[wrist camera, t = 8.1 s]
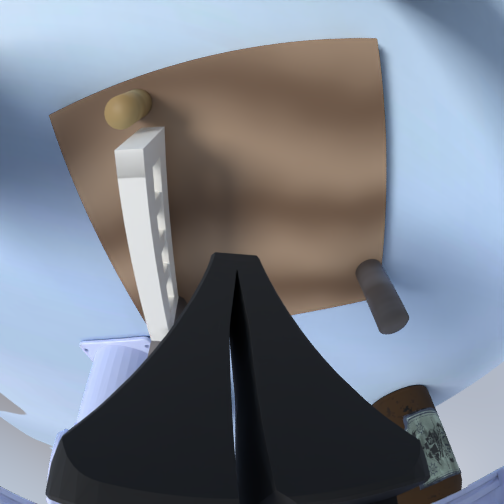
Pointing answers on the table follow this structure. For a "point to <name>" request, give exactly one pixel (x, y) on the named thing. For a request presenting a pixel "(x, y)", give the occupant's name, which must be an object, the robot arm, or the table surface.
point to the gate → (149, 225)
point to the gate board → (254, 169)
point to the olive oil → (424, 442)
